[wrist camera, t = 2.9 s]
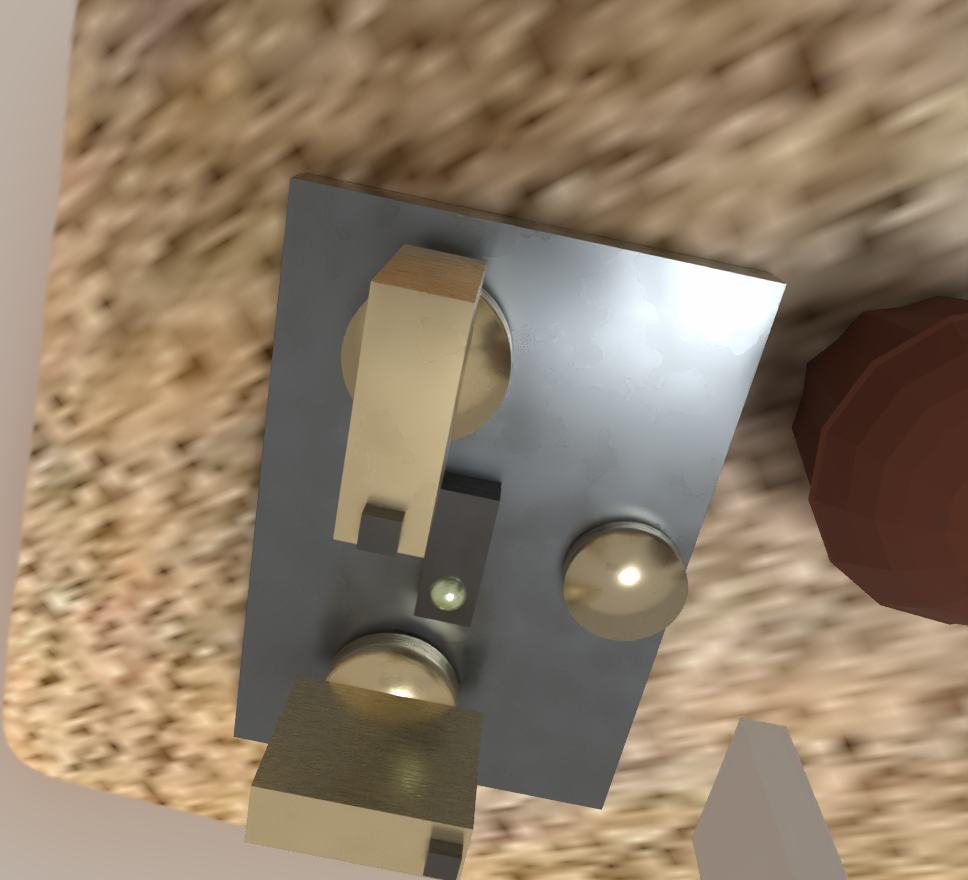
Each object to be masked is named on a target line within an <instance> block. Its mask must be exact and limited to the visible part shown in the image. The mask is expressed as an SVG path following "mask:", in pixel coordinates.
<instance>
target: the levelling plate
mask: <svg viewBox="0 0 968 880" xmlns="http://www.w3.org/2000/svg"><path fill="white" fill-rule="evenodd" d="M404 244H407V245H412V246H417V247H421V248H426V249H431V250H436V251H440V252H445V253H450V254H454V255H459V256H464V257H468V258H473V259H478V260H482V261H487V264H486V269H485V274H484V279H483V284H482V288H483V289H484V290H486V291H487V293H488V294H489V295H490V296H491V297H492V298H493V299H494V300H495V301H496V303H497V304H498V305H499V307H500V309H501V310H502V312H503V314H504V316H505V318H506V321H507V323H508V326H509V330H510V333H511V340H512V362H511V373H510V379H509V384H508V388H507V391H506V394H505V396H504V398H503V400H502V403H501V404H500V406H499V407H498V409H497V410H496V412H495V413H494V414H493V415H492V417H491V418H490V419H489V420H488V421H487V422H486V423H484V424H483V425H482V426H481V427H480V428H478V429H477V430H475V431H474V432H472V433H470V434H468V435H466V436H464V437H462V438H459V439H456V440H453V441H451V443H450V448H449V453H448V458H447V463H446V468H445V473H444V477H443V481H442V485H441V489H440V493H439V498H438V502H437V506H436V510H435V514H434V518H433V522H432V526H431V531H430V535H429V539H428V543H427V547H426V551H425V555H424V558H422V557H418V556H413V555H408V554H403V553H398V552H397V555H396V557H392V556H388V555H383V554H378V553H373V552H368V551H363V550H358V549H356V546H357V544H354V543H349V542H344V541H339V540H334V539H333V537H334V530H335V523H336V516H337V509H338V503H339V496H340V489H341V482H342V475H343V468H344V462H345V455H346V448H347V441H348V434H349V427H350V421H351V414H352V407H353V400H352V398H351V396H350V394H349V392H348V390H347V387H346V384H345V381H344V378H343V373H342V366H341V350H342V344H343V339H344V335H345V333H346V330H347V327H348V325H349V323H350V321H351V319H352V318H353V316H354V315H355V313H356V312H357V311H358V309H359V308H360V307H361V306H362V304H363V303H364V302H365V301H366V300H367V298H368V297H369V291H370V284H371V281H372V279H373V278H374V277H375V276H376V275H377V274H378V273H379V272H380V271H381V269H382V268H383V267H384V266H385V265H386V264H387V263H388V262H389V261H390V259H391V258H392V257H393V256H394V255H395V254H396V253H397V252H398V251H399V249H400V248H401V247H402V246H403V245H404ZM785 287H786V284H785V283H784V282H783V281H781V280H780V279H779V278H777V277H776V276H775V275H773V274H772V273H768V272H764V271H759V270H754V269H750V268H745V267H740V266H736V265H731V264H726V263H722V262H717V261H713V260H708V259H703V258H699V257H694V256H689V255H685V254H680V253H675V252H671V251H666V250H662V249H657V248H652V247H648V246H643V245H638V244H634V243H629V242H624V241H620V240H615V239H610V238H606V237H601V236H597V235H592V234H587V233H583V232H578V231H573V230H569V229H564V228H559V227H555V226H550V225H545V224H541V223H536V222H532V221H527V220H522V219H518V218H513V217H508V216H504V215H499V214H494V213H490V212H485V211H481V210H476V209H471V208H467V207H462V206H457V205H453V204H448V203H443V202H439V201H434V200H429V199H425V198H420V197H416V196H411V195H406V194H402V193H397V192H392V191H388V190H383V189H378V188H374V187H369V186H364V185H360V184H355V183H351V182H346V181H341V180H337V179H332V178H327V177H323V176H318V175H313V174H309V173H303V174H300V175H297V176H294V177H291V178H290V188H289V198H288V207H287V217H286V227H285V237H284V247H283V257H282V266H281V276H280V286H279V296H278V306H277V316H276V325H275V335H274V345H273V355H272V365H271V375H270V384H269V394H268V404H267V414H266V424H265V434H264V443H263V453H262V463H261V473H260V483H259V493H258V502H257V512H256V522H255V532H254V542H253V552H252V561H251V571H250V581H249V591H248V601H247V611H246V620H245V630H244V640H243V650H242V660H241V670H240V680H239V689H238V699H237V709H236V719H235V729H234V737H238V738H243V739H248V740H253V741H258V742H263V743H268V744H269V741H270V739H271V737H272V734H273V732H274V729H275V727H276V725H277V722H278V720H279V717H280V715H281V712H282V710H283V708H284V705H285V703H286V700H287V698H288V696H289V693H290V691H291V688H292V686H293V683H294V681H295V679H296V676H297V675H300V676H305V677H310V678H315V679H319V680H324V681H325V678H326V675H327V673H328V670H329V667H330V665H331V662H332V661H333V659H334V657H335V656H336V655H337V653H338V652H339V651H340V650H341V649H342V648H343V647H345V646H346V645H347V644H349V643H350V642H352V641H354V640H356V639H358V638H360V637H364V636H367V635H371V634H376V633H397V634H404V635H408V636H412V637H414V638H417V639H420V640H422V641H424V642H426V643H428V644H429V645H431V646H432V647H434V648H435V649H437V650H438V651H439V652H440V653H441V654H442V655H443V656H444V657H445V658H446V659H447V660H448V662H449V663H450V664H451V666H452V668H453V670H454V672H455V674H456V677H457V680H458V685H459V698H458V705H457V707H459V708H464V709H469V710H474V711H479V712H483V718H482V730H481V742H480V754H479V765H478V777H477V785H480V786H485V787H490V788H495V789H500V790H505V791H510V792H515V793H520V794H526V795H531V796H536V797H541V798H546V799H551V800H556V801H561V802H566V803H571V804H576V805H581V806H586V807H591V808H596V809H601V810H602V808H603V805H604V802H605V799H606V796H607V793H608V791H609V788H610V785H611V782H612V779H613V776H614V773H615V771H616V768H617V765H618V762H619V759H620V756H621V754H622V751H623V748H624V745H625V742H626V739H627V737H628V734H629V731H630V728H631V725H632V722H633V719H634V717H635V714H636V711H637V708H638V705H639V702H640V700H641V697H642V694H643V691H644V688H645V685H646V682H647V680H648V677H649V674H650V671H651V668H652V665H653V663H654V660H655V657H656V654H657V651H658V648H659V645H660V643H661V640H662V637H663V634H664V631H665V628H666V627H667V626H669V625H670V624H671V623H672V622H673V621H674V620H675V619H676V617H677V616H678V615H679V613H680V612H681V610H682V609H683V606H684V604H685V601H686V598H687V592H688V581H687V576H686V572H685V571H686V569H687V566H688V563H689V560H690V557H691V554H692V552H693V549H694V546H695V543H696V540H697V537H698V534H699V532H700V529H701V526H702V523H703V520H704V517H705V515H706V512H707V509H708V506H709V503H710V500H711V497H712V495H713V492H714V489H715V486H716V483H717V480H718V478H719V475H720V472H721V469H722V466H723V463H724V460H725V458H726V455H727V452H728V449H729V446H730V443H731V441H732V438H733V435H734V432H735V429H736V426H737V423H738V421H739V418H740V415H741V412H742V409H743V406H744V404H745V401H746V398H747V395H748V392H749V389H750V386H751V384H752V381H753V378H754V375H755V372H756V369H757V367H758V364H759V361H760V358H761V355H762V352H763V350H764V347H765V344H766V341H767V338H768V335H769V332H770V330H771V327H772V324H773V321H774V318H775V315H776V313H777V310H778V307H779V304H780V301H781V298H782V295H783V293H784V290H785Z"/></svg>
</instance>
